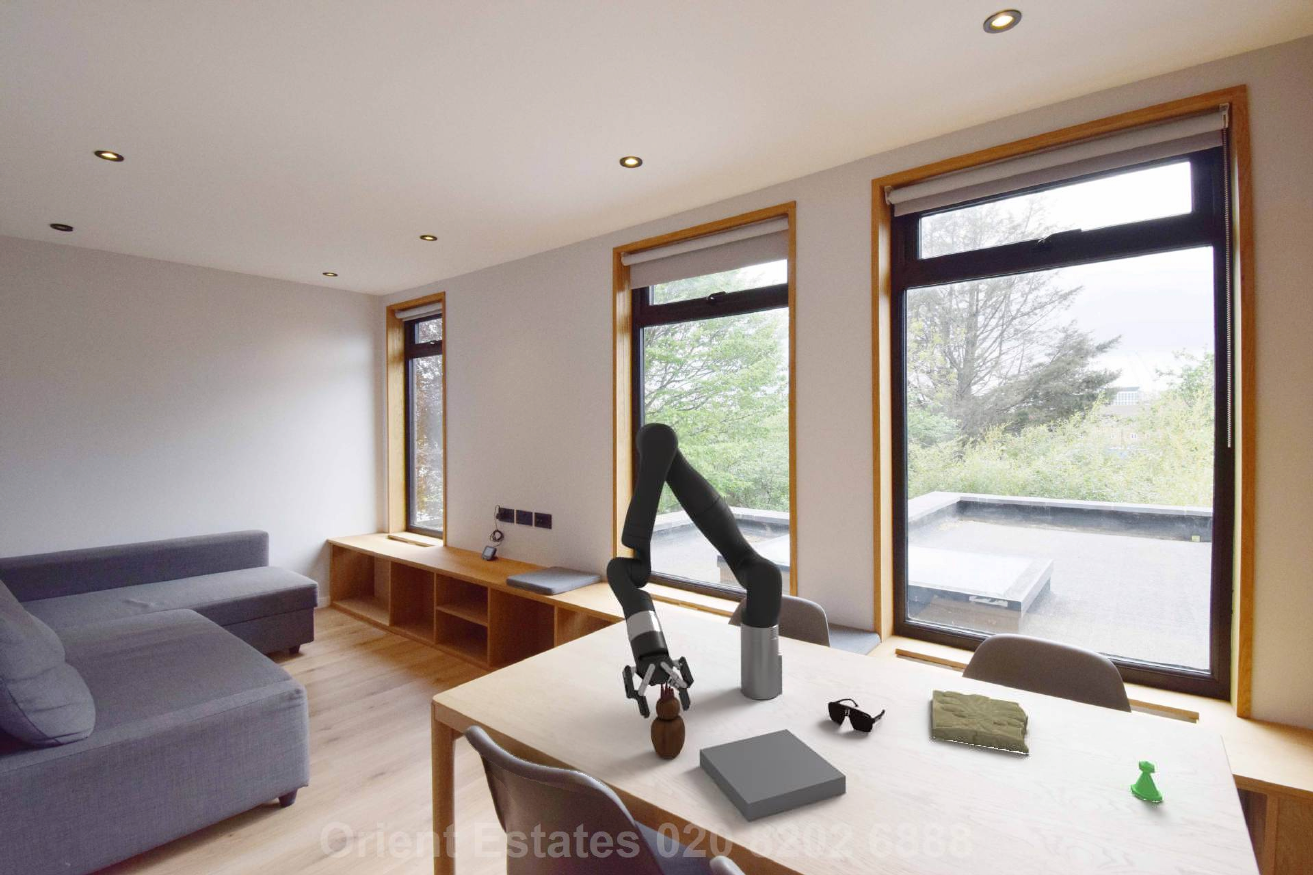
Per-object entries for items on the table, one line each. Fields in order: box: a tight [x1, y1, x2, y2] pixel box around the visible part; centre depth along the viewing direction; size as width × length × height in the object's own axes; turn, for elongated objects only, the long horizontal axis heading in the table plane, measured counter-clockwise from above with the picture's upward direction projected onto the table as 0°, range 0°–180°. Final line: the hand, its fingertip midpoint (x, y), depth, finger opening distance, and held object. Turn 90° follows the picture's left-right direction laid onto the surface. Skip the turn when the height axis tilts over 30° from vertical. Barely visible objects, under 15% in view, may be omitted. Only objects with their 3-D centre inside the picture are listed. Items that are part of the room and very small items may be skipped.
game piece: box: [1130, 760, 1163, 803], centre depth 104 cm, size 4×4×6 cm
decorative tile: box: [931, 689, 1030, 754], centre depth 128 cm, size 19×20×4 cm
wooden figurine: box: [650, 682, 686, 759], centre depth 118 cm, size 7×6×15 cm
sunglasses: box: [827, 698, 886, 734], centre depth 132 cm, size 11×12×5 cm
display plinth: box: [699, 728, 847, 823], centre depth 109 cm, size 20×18×3 cm
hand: (667, 713), depth 118 cm, fingers open, 8 cm apart
